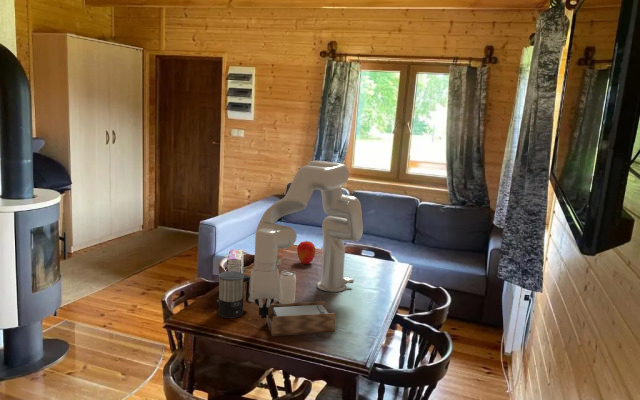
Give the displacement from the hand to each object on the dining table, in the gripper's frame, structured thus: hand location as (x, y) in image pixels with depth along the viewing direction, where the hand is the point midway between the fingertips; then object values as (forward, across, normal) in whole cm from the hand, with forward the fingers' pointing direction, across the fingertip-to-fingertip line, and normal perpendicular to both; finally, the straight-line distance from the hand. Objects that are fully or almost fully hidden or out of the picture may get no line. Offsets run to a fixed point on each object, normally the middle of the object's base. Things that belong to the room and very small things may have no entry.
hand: (263, 316), depth 168 cm
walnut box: (+5, -13, 0) cm, 14 cm away
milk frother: (+5, +10, -19) cm, 22 cm away
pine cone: (+5, -11, -53) cm, 54 cm away
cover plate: (0, -13, 0) cm, 13 cm away
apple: (+5, -33, -71) cm, 79 cm away
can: (+5, -13, -23) cm, 27 cm away
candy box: (+5, +6, -36) cm, 37 cm away
